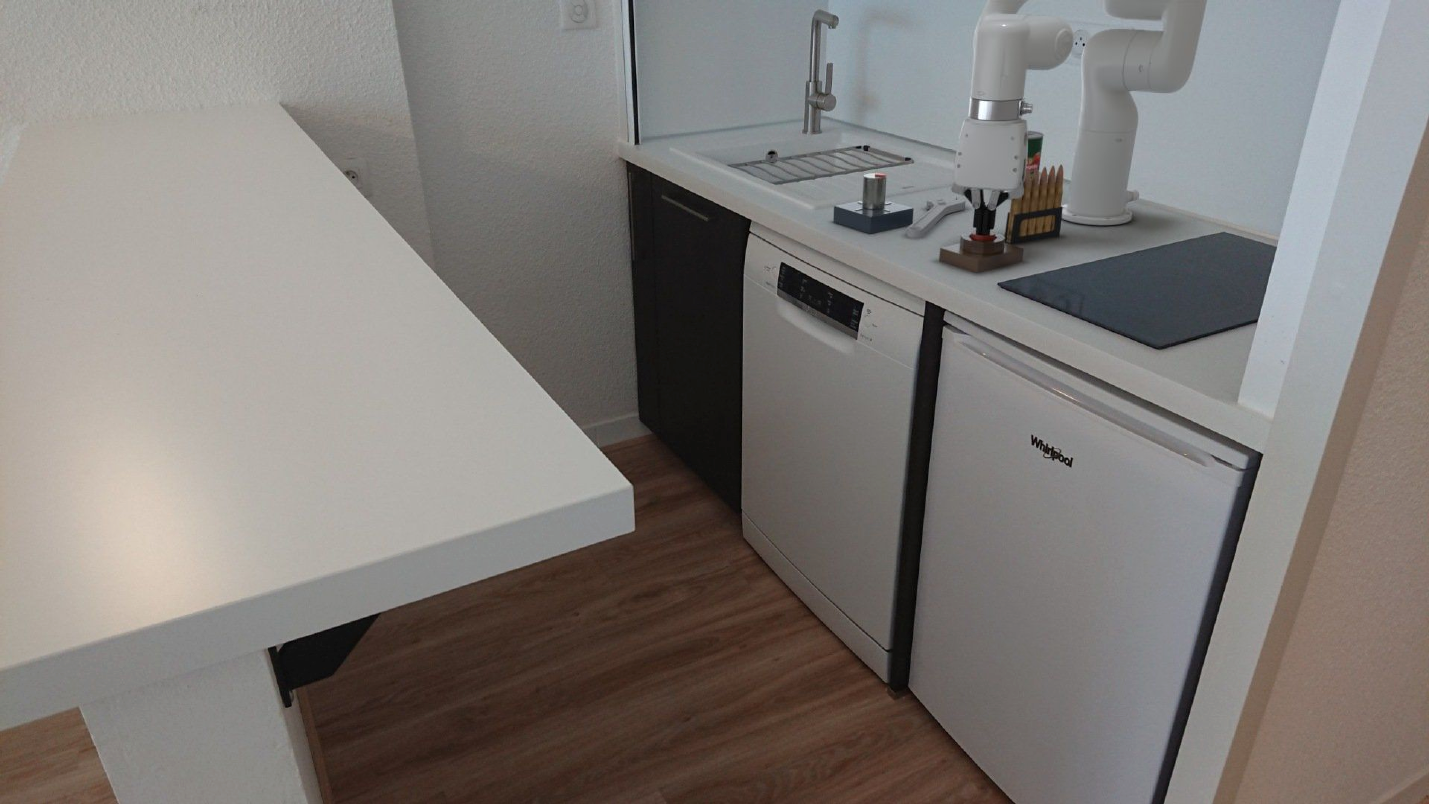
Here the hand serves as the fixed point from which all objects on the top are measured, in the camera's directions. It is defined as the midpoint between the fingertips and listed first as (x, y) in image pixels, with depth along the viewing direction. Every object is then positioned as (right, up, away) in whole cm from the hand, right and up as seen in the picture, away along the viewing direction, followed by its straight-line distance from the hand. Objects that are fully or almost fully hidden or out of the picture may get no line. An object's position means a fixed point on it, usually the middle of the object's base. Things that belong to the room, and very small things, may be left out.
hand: (983, 232), depth 147 cm
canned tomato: (+19, +17, +45) cm, 52 cm away
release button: (0, -2, +1) cm, 2 cm away
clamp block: (-13, +6, +24) cm, 28 cm away
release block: (0, -4, +2) cm, 5 cm away
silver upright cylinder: (-13, +9, +23) cm, 28 cm away
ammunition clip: (+12, +1, +13) cm, 17 cm away
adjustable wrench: (-2, +7, +25) cm, 26 cm away
